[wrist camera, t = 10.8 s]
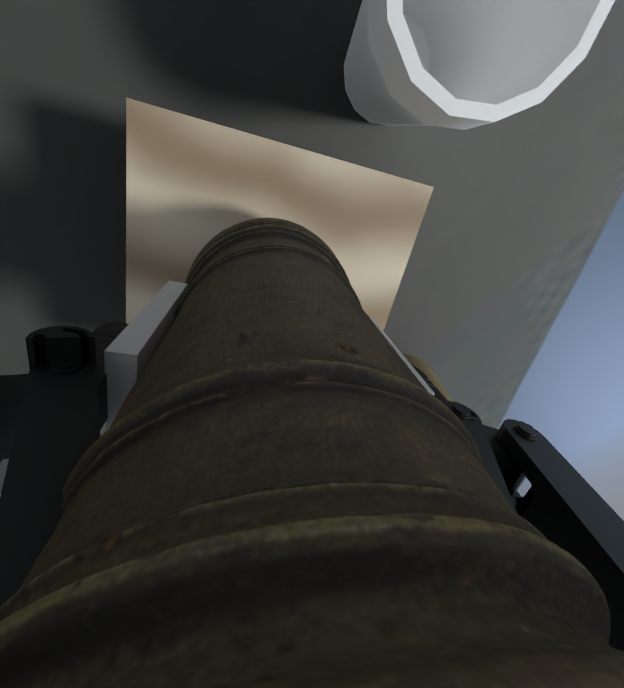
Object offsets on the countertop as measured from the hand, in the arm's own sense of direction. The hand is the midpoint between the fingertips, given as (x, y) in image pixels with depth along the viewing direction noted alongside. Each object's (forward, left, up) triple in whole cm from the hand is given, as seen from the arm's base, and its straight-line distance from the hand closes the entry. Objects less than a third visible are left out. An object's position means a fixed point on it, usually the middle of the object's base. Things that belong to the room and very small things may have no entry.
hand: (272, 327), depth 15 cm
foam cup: (-15, +6, -14) cm, 22 cm away
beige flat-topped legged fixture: (0, 0, -14) cm, 14 cm away
